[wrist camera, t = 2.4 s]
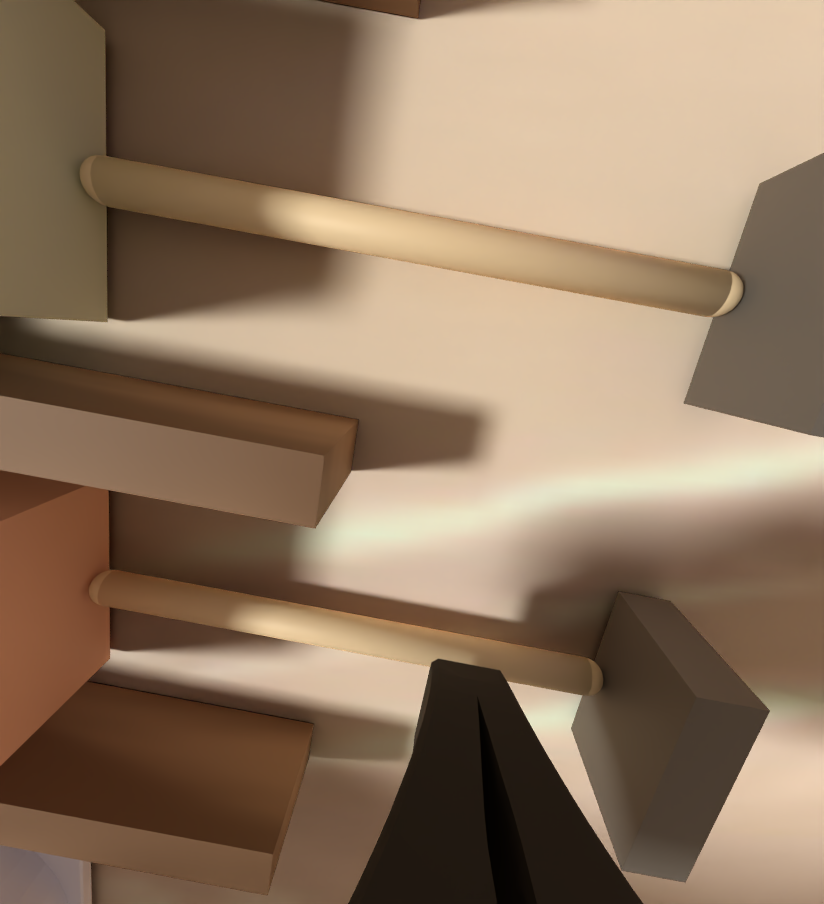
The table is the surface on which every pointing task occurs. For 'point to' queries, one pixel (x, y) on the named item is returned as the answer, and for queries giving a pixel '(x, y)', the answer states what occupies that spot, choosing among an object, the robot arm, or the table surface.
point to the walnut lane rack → (144, 714)
